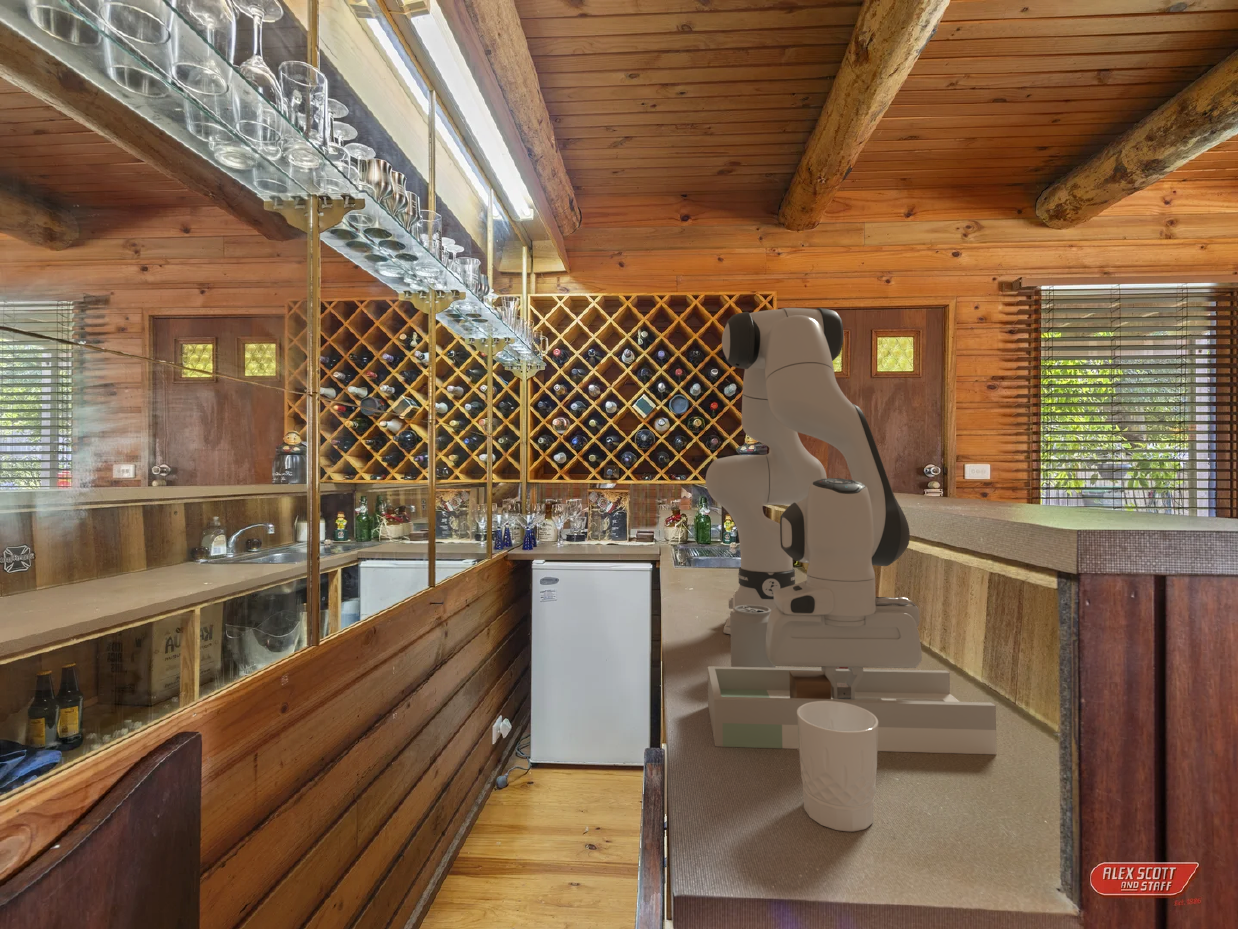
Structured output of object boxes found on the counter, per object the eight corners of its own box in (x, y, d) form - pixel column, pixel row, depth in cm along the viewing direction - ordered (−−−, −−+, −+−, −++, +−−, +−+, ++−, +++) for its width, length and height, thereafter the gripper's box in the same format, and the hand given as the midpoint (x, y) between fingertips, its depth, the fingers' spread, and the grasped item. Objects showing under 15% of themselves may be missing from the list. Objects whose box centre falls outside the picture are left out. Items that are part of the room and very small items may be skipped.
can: (764, 689, 95) (763, 615, 96) (723, 679, 100) (722, 608, 100) (782, 676, 101) (781, 606, 102) (742, 667, 106) (741, 601, 106)
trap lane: (708, 706, 88) (707, 666, 89) (947, 712, 86) (946, 670, 86) (715, 746, 76) (714, 699, 76) (996, 754, 73) (995, 705, 73)
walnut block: (789, 699, 83) (789, 670, 83) (822, 699, 83) (821, 671, 83) (796, 712, 79) (796, 682, 79) (831, 712, 78) (830, 682, 79)
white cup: (828, 842, 56) (826, 736, 56) (783, 798, 63) (782, 705, 64) (897, 828, 58) (896, 726, 58) (846, 787, 65) (845, 697, 66)
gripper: (909, 592, 83) (911, 690, 83) (762, 591, 85) (763, 688, 84) (929, 602, 77) (931, 708, 77) (770, 601, 78) (772, 705, 78)
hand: (842, 698), depth 81 cm, fingers closed
